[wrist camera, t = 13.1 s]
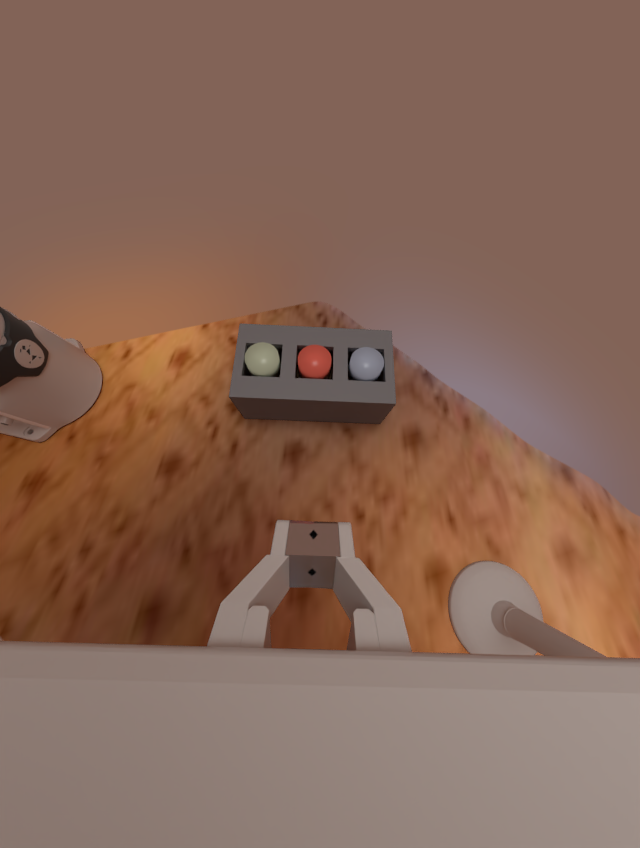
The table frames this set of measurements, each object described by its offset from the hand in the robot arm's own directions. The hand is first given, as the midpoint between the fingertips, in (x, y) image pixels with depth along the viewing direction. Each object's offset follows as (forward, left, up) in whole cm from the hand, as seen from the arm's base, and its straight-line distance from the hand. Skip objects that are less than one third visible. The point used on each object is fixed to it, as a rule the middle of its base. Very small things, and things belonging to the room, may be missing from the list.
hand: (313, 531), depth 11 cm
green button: (-8, +21, -25) cm, 34 cm away
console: (-1, +21, -31) cm, 38 cm away
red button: (0, +21, -25) cm, 33 cm away
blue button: (+7, +21, -25) cm, 34 cm away
